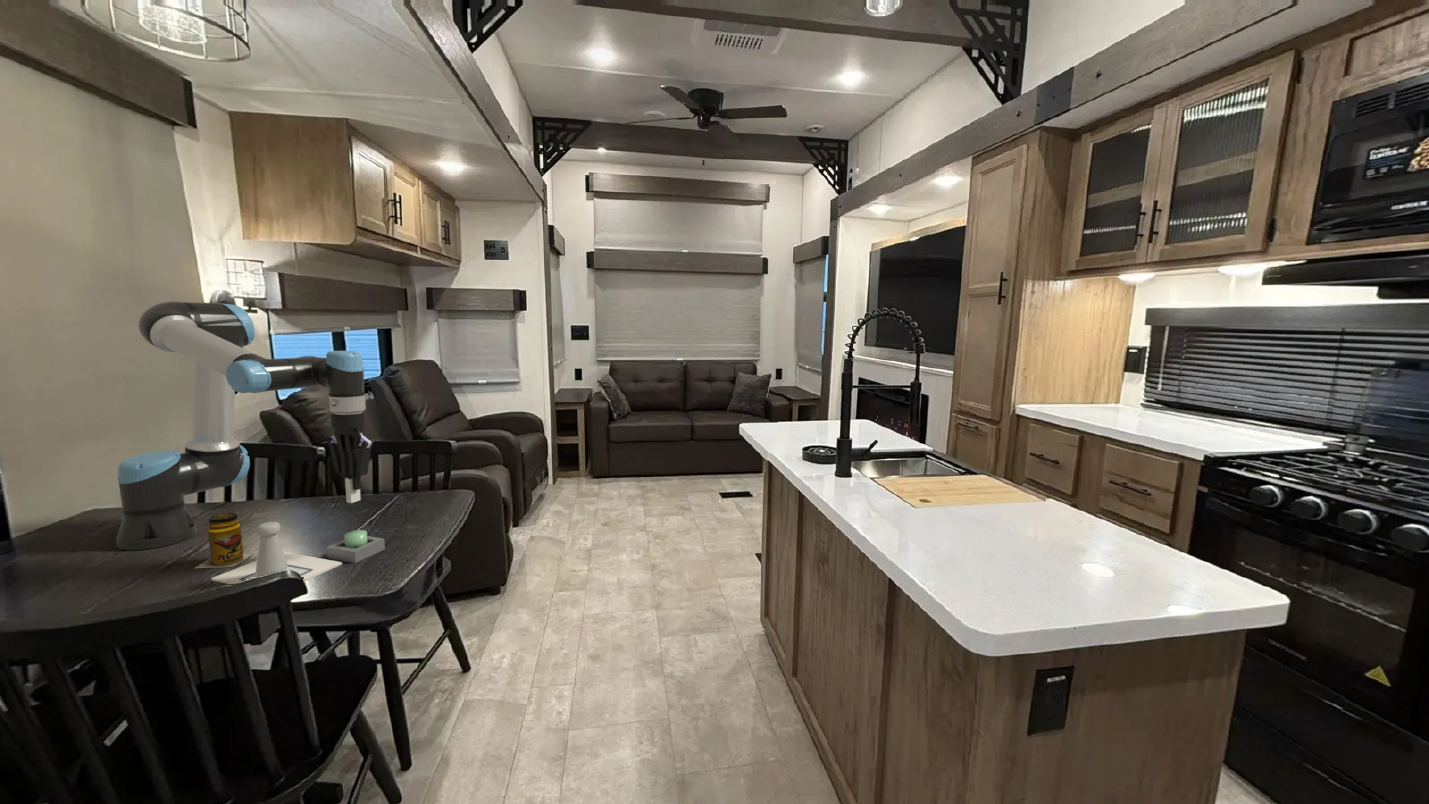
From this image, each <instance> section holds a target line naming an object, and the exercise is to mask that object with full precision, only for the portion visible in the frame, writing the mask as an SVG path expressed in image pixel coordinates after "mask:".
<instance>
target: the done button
mask: <svg viewBox="0 0 1429 804" xmlns="http://www.w3.org/2000/svg"><path fill="white" fill-rule="evenodd" d="M343 536H344V537H343V540H344V541H345V547H348V548H354V549H356V548H358V547H360V546H363V545H365V544H367V543H368V542H367V536H368V532H367V530H364V529H358V530H357V529H356V530H352V531H348V532H346V533H345V534H344V535H343Z"/></svg>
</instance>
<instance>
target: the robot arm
mask: <svg viewBox="0 0 1429 804" xmlns="http://www.w3.org/2000/svg"><path fill="white" fill-rule="evenodd" d="M252 319H253V318H252V317H251V316H250V315H249V313H248V312H247V311H246V310H245V309H244V308H242V307H241V306H239V305H236V304H230V303H223V302H222V303H221V302H189V301H188V302H187V301H183V302H182V301H164V302H161V303H157V304H154V305H153V306H150V307H148V309H146V310H145V311H144V312H143V313H142V315H141V316H140V317H139V320H138V331H139V332H140V335H141V336H142V337H143V339H144V340H145V341H146V342H147V343H148V344H150V345H152V346H154V347H155V348H157V349H159V350H161V351H165V352H169V353H178V354H180V355H182V356H184V357H186V358H188V359H190V360H192V361H193V392H192V393H193V395H192V396H193V397H192V400H193V401H192V410H193V411H192V438H191V439H189V440H187V442H185V443H184V452H183V453H180V452H178V451H177V450H173V449H167V450H165V449H164V450H159V451H152V452H145V453H142V454H138V455H134V456H132V457H129V458H127V459H124V460H123V461H121V463H120V464H119V465H118V467H117V468H118V469H117V482H118V486H119V493H120V494H119V495H120V501H121V508H122V520H121V523H120V526H119V529H118V532H117V536H116V538H115V539H116V540H115V541H116V548H118V549H120V550H124V551H140V550H142V551H143V550H149V549H150V550H151V549H156V548H162V547H166V546H167V547H168V546H170V545H175V544H178V543H181V542H184V541H186V540H189V539H191V538H193V537H194V536H195V535H197V525H196V523H195V521H194V519H193V518H192V516H191V514H190V513H189V511H188V510H187V508H186V505H185V496H188V495H192V494H197V493H202V492H206V491H210V490H214V489H219V488H225V487H228V486H230V485H234V484H236V483H238V482H241V481H242V480H244V479H245V477H246V476H247V474H248V473H249V469H250V465H251V462H250V456H249V455H248V453H249V452H248V450H247V449H246V448H245V447H244V446H243V445H241V443H240V441H239V440H237V439H236V438H234V425H235V423H234V420H235V397H236V396H235V395H236V394H235V392H236V393H240V394H247V393H248V394H249V393H250V394H259V393H265V392H272V391H281V390H282V391H283V390H293V389H294V390H295V389H302V388H314V387H316V388H317V387H322V388H328V399H329V411H330V412H331V414H330V427H331V428H332V429H333V435H331V436H329V437H326V438H325V441H326V444H327V446H329V447H328V448H329V449H330V450H329V451H330V454H331V458H332V462H333V466H334V469H335V473H336V474H337V475H341V476H342V478H343V486H344V489H345V494H346V495H345V496H346V498H345V499H346V503H348V504H353V503H355V502H356V503H357V502H359V501H361V500H362V499H361V488H362V480H361V478H362V476H365V475H368V471H369V465H370V460H371V451H372V447H373V446H374V444H375V440H373V439H368V438H367V437H366V432H365V431H364V430H365V427H366V426H367V413H366V412H365V411H366V408H367V407H366V395H365V379H364V378H365V375H364V369H365V367H364V364H363V363H364V361H363V356H362V353H360V352H359V351H355V350H331V351H328V352H327V353H326V354H325V355H326V357H322V356H321V357H320V356H314V355H313V356H312V355H308V356H307V355H305V356H304V355H302V356H297V357H290V358H286V357H285V358H265V357H263V356H260V355H259V354H256V353H254V352H252V351H250V350H248V349H245V348H244V347H246V346H249V345H250V344H252V343H253V341H254V340H255V338H256V329H255V325H254V321H253V320H252Z"/></svg>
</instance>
